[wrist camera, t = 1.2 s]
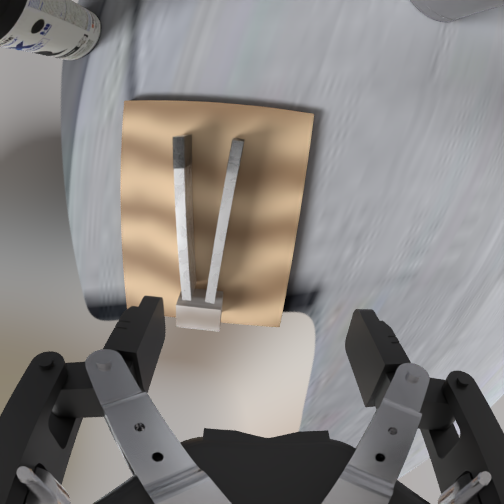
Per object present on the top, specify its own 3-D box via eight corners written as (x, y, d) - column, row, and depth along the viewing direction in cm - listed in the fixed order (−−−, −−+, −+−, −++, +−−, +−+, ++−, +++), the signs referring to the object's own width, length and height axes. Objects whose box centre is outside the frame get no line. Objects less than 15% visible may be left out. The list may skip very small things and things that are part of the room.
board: (129, 101, 31) (109, 99, 26) (311, 114, 32) (322, 113, 27) (130, 304, 41) (117, 328, 36) (278, 320, 42) (282, 347, 37)
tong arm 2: (217, 285, 38) (214, 303, 34) (208, 283, 38) (204, 302, 34) (244, 139, 31) (244, 141, 27) (234, 137, 31) (232, 139, 27)
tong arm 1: (196, 282, 38) (191, 300, 34) (187, 282, 38) (181, 300, 34) (191, 134, 31) (184, 136, 27) (181, 134, 31) (172, 136, 27)
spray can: (49, 58, 27) (-71, 45, 9) (68, 10, 25) (-40, -32, 7) (90, 63, 28) (-32, 40, 10) (110, 12, 26) (7, -47, 8)
